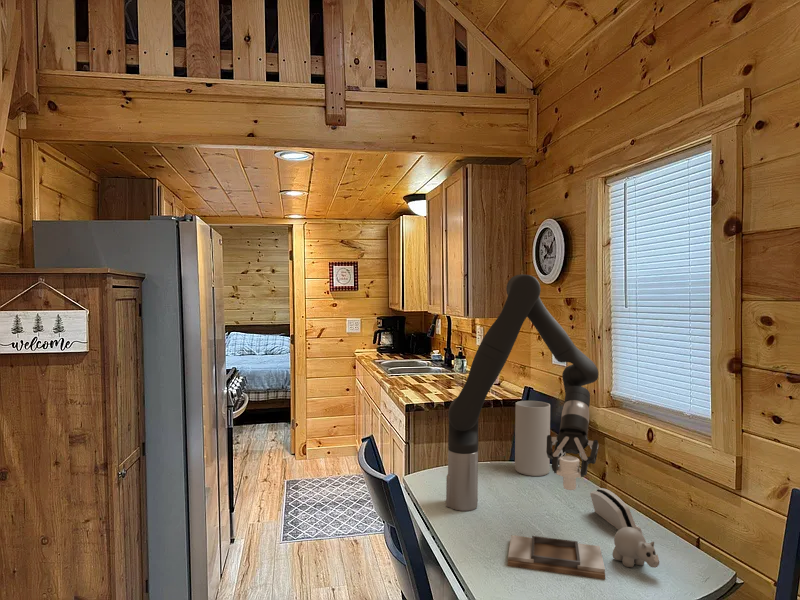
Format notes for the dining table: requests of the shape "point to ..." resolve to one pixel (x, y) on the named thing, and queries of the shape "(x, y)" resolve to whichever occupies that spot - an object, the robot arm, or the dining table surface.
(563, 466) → the pipe fitting
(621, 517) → the white striped curved block
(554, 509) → the dining table surface
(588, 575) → the base
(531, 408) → the cylinder vase
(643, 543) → the chubby cartoon animal
